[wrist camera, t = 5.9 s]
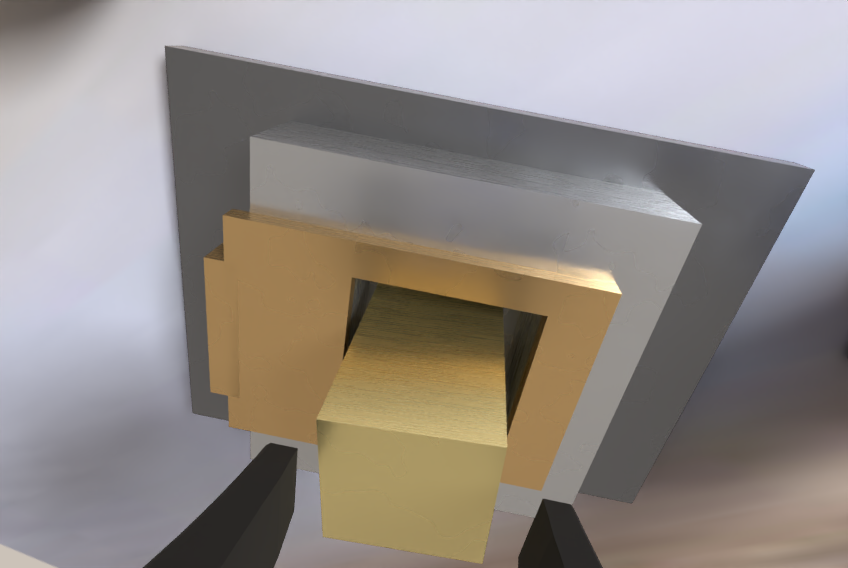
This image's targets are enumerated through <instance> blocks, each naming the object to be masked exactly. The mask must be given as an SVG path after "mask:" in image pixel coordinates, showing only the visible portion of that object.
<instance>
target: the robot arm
mask: <svg viewBox="0 0 848 568" xmlns="http://www.w3.org/2000/svg"><path fill="white" fill-rule="evenodd" d="M297 453H298V448H294V447H289V446H284V445H280V444H275V443H269V444H267V445H265V447H264V448H263V449H262V450H261V451H260V452H259V454H258V455H257V456H256V457H255V458H254V459H253V460H252V462H251V463H250V464H249V465H248V466H247V467H246V468H245V469H244V470H243V472H242V473H241V474H240V475H239V476H238V477H237V478H236V479H235V480H234V481H233V482H232V483H231V484H230V485H229V486H228V487H227V489H226V490H225V491H224V492H223V493H222V494H221V495H220V496H219V497H218V498H217V499H216V500H215V501H214V502H213V503H212V504H211V505H210V506H209V507H208V508H207V509H206V510H205V511H204V512H203V513H202V514H201V515H200V516H199V517H198V518H197V519H196V520H195V521H193V522H192V523H191V524H190V525H189V526H188V527H187V528H186V529H185V530H184V531H183V532H182V533H181V534H180V535H179V536H178V537H176V538H175V539H174V540H173V541H172V542H171V543H170V544H169V545H168V546H167V547H165V548H164V549H163V550H162V551H161V552H160V553H159V554H158V555H157V556H155V557H154V558H153V559H152V560H151V561H150V562H149V563H148V564H147V565H145V566H144V567H143V568H274V565H275V563H276V561H277V559H278V556H279V553H280V550H281V547H282V544H283V541H284V539H285V536H286V533H287V530H288V527H289V524H290V521H291V518H292V515H293V512H294V502H295V486H296V469H297ZM518 568H603V567H602V565H601V563H600V561H599V559H598V557H597V555H596V553H595V551H594V549H593V547H592V545H591V543H590V541H589V539H588V537H587V535H586V533H585V531H584V529H583V527H582V525H581V523H580V521H579V518H578V516H577V514H576V512H575V510H574V508H573V507H572V505H571V504H567V503H562V502H558V501H553V500H548V499H542V502H541V504H540V506H539V509H538V511H537V514H536V516H535V518H534V521H533V523H532V526H531V528H530V530H529V533H528V535H527V538H526V540H525V542H524V545H523V547H522V550H521V552H520V554H519V557H518Z"/></svg>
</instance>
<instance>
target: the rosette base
mask: <svg viewBox="0 0 848 568" xmlns="http://www.w3.org/2000/svg"><path fill="white" fill-rule="evenodd" d="M165 55H166V68H167V81H168V94H169V107H170V121H171V134H172V147H173V160H174V173H175V187H176V200H177V213H178V226H179V239H180V253H181V266H182V279H183V292H184V305H185V319H186V332H187V345H188V358H189V371H190V385H191V398H192V411H193V413H194V414H199V415H203V416H208V417H213V418H218V419H223V420H228V421H229V427H233V428H238V429H242V430H247V431H250V455H251V459H254V458H255V457H256V456H257V455H258V454H259V452H260V451H261V450H262V449H263V448H264V447H265V445H267V444H269V443H275V444H280V445H284V446H289V447H294V448H298V453H297V469H301V470H306V471H311V472H315V473H319V460H318V442H317V424H316V419H317V417H318V414H319V412H320V410H321V408H322V406H323V403H324V401H325V399H326V397H327V395H328V392H329V390H330V388H331V386H332V384H333V381H334V379H335V377H336V375H337V373H338V370H339V368H340V366H341V364H342V362H343V359H344V357H345V355H346V353H347V351H348V348H349V346H350V344H351V342H352V340H353V337H354V335H355V333H356V331H357V329H358V326H359V324H360V322H361V320H362V318H363V315H364V313H365V311H366V309H367V307H368V304H369V302H370V300H371V298H372V296H373V293H374V291H375V289H376V287H377V284H378V283H383V284H388V285H393V286H398V287H403V288H408V289H413V290H418V291H423V292H428V293H433V294H438V295H443V296H448V297H453V298H458V299H463V300H468V301H473V302H478V303H483V304H488V305H493V306H499V307H503V323H504V356H505V388H506V421H507V452H506V456H505V461H504V466H503V470H502V475H501V479H500V484H499V489H498V493H497V498H496V503H495V507H494V510H499V511H504V512H509V513H514V514H518V515H523V516H528V517H533V518H535V516H536V514H537V511H538V509H539V506H540V504H541V502H542V499H548V500H553V501H558V502H562V503H567V504H571V505H572V504H573V502H574V500H575V498H576V496H577V494H578V493H583V494H588V495H593V496H597V497H602V498H607V499H612V500H617V501H622V502H627V503H633V501H634V499H635V497H636V495H637V493H638V492H639V490H640V488H641V486H642V484H643V482H644V481H645V479H646V477H647V475H648V473H649V472H650V470H651V468H652V466H653V464H654V462H655V461H656V459H657V457H658V455H659V453H660V451H661V450H662V448H663V446H664V444H665V442H666V441H667V439H668V437H669V435H670V433H671V431H672V430H673V428H674V426H675V424H676V422H677V421H678V419H679V417H680V415H681V413H682V411H683V410H684V408H685V406H686V404H687V402H688V400H689V399H690V397H691V395H692V393H693V391H694V390H695V388H696V386H697V384H698V382H699V380H700V379H701V377H702V375H703V373H704V371H705V369H706V368H707V366H708V364H709V362H710V360H711V359H712V357H713V355H714V353H715V351H716V349H717V348H718V346H719V344H720V342H721V340H722V338H723V337H724V335H725V333H726V331H727V329H728V328H729V326H730V324H731V322H732V320H733V318H734V317H735V315H736V313H737V311H738V309H739V307H740V306H741V304H742V302H743V300H744V298H745V297H746V295H747V293H748V291H749V289H750V287H751V286H752V284H753V282H754V280H755V278H756V276H757V275H758V273H759V271H760V269H761V267H762V266H763V264H764V262H765V260H766V258H767V256H768V255H769V253H770V251H771V249H772V247H773V245H774V244H775V242H776V240H777V238H778V236H779V235H780V233H781V231H782V229H783V227H784V225H785V224H786V222H787V220H788V218H789V216H790V215H791V213H792V211H793V209H794V207H795V205H796V204H797V202H798V200H799V198H800V196H801V194H802V193H803V191H804V189H805V187H806V185H807V184H808V182H809V180H810V178H811V176H812V174H813V173H814V171H815V170H814V169H811V168H808V167H806V166H803V165H800V164H797V163H794V162H789V161H784V160H779V159H773V158H768V157H763V156H758V155H752V154H747V153H742V152H737V151H731V150H726V149H721V148H716V147H710V146H705V145H700V144H695V143H689V142H684V141H679V140H674V139H668V138H663V137H658V136H653V135H648V134H642V133H637V132H632V131H627V130H621V129H616V128H611V127H606V126H600V125H595V124H590V123H585V122H579V121H574V120H569V119H564V118H558V117H553V116H548V115H543V114H537V113H532V112H527V111H522V110H516V109H511V108H506V107H501V106H496V105H490V104H485V103H480V102H475V101H469V100H464V99H459V98H454V97H448V96H443V95H438V94H433V93H427V92H422V91H417V90H412V89H406V88H401V87H396V86H391V85H385V84H380V83H375V82H370V81H365V80H359V79H354V78H349V77H344V76H338V75H333V74H328V73H323V72H317V71H312V70H307V69H302V68H296V67H291V66H286V65H281V64H275V63H270V62H265V61H260V60H254V59H249V58H244V57H239V56H233V55H228V54H223V53H218V52H213V51H207V50H202V49H197V48H192V47H186V46H165Z"/></svg>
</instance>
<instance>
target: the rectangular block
mask: <svg viewBox="0 0 848 568" xmlns="http://www.w3.org/2000/svg"><path fill="white" fill-rule="evenodd" d="M316 424H317V442H318V460H319V478H320V496H321V513H322V531H323V537H327V538H332V539H338V540H344V541H350V542H356V543H362V544H368V545H374V546H380V547H386V548H391V549H397V550H403V551H409V552H415V553H421V554H427V555H433V556H439V557H445V558H451V559H456V560H462V561H468V562H474V563H480V564H482V563H483V558H484V554H485V549H486V544H487V540H488V535H489V531H490V526H491V521H492V517H493V512H494V507H495V503H496V498H497V493H498V489H499V484H500V479H501V475H502V470H503V466H504V461H505V456H506V452H507V421H506V388H505V356H504V323H503V307H499V306H493V305H488V304H483V303H478V302H473V301H468V300H463V299H458V298H453V297H448V296H443V295H438V294H433V293H428V292H423V291H418V290H413V289H408V288H403V287H398V286H393V285H388V284H383V283H378V284H377V287H376V289H375V291H374V293H373V296H372V298H371V300H370V302H369V304H368V307H367V309H366V311H365V313H364V315H363V318H362V320H361V322H360V324H359V326H358V329H357V331H356V333H355V335H354V337H353V340H352V342H351V344H350V346H349V348H348V351H347V353H346V355H345V357H344V359H343V362H342V364H341V366H340V368H339V370H338V373H337V375H336V377H335V379H334V381H333V384H332V386H331V388H330V390H329V392H328V395H327V397H326V399H325V401H324V403H323V406H322V408H321V410H320V412H319V414H318V417H317V419H316Z"/></svg>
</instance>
